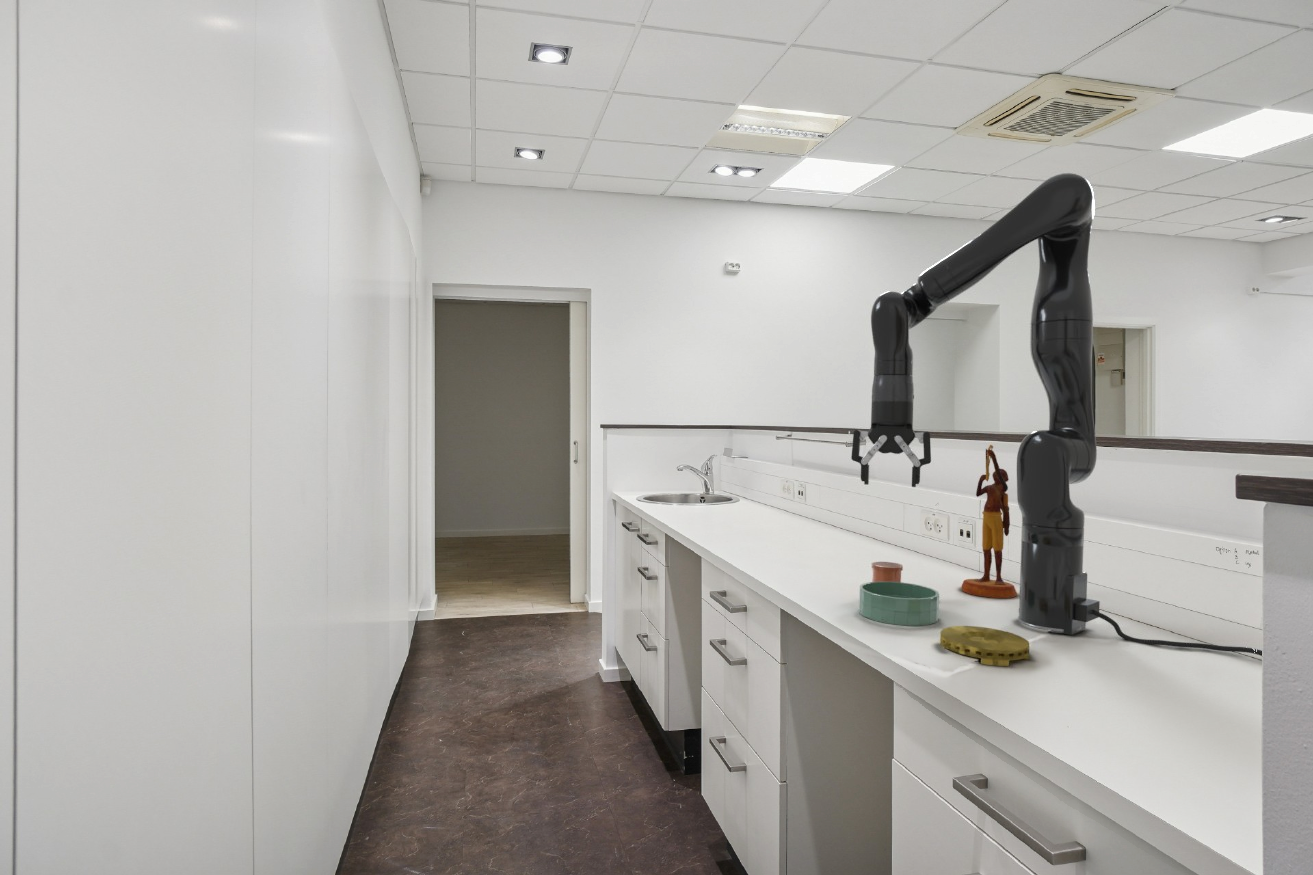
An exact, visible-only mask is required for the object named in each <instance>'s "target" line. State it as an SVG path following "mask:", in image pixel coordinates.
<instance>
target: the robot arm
mask: <svg viewBox="0 0 1313 875" xmlns="http://www.w3.org/2000/svg"><path fill="white" fill-rule="evenodd" d="M1095 202H1096V201H1095V195H1094V191H1093V187H1092V186H1091V184H1090V182H1089V181H1088V180H1087V179H1086V178H1085V177H1083V176H1082V175H1079V174H1077V173H1072V172H1071V173H1070V172H1065V173H1064V172H1063V173H1059V174H1055V175H1054V176H1050V177H1049V178H1047V179H1045V181H1043V182H1042V183H1041V184H1039V185H1038V186H1037V187H1036V188H1035V189H1033V191H1031V192H1030V193H1029V194H1027V195H1026V197H1024V198H1023V199H1022V200H1020V202H1019V203H1018V204H1016V206H1014V207H1013V208H1012V209H1010V210H1009V211H1008V212H1007V213H1006V214H1004V215H1003V216H1002V217H1001V218H1000V219H999V220H997V221H996V222H995V223H993V224H992V225H991V226H990V227H988V228H986V229H985V230H984V231H982V232H981V233H980V234H979V235H977V236H976V237H974V238H973V239H971V240H970V241H968V242H967V243H966V244H964V245H963V246H961V247H959V248H958V249H957V250H955V251H953V252H952V253H950V254H949V255H947V256H946V257H944V258H943V259H941V260H939V261H938V262H936V263H935V264H934V265H932V266H930V267H928V268H927V269H926V270H924V271H923V272H922V273H921V274H920V275H919V276H918V277H917V280H916V282H915V283H914V284H913V285H912V286H909V288H908V289H906V290H904V291H903V292H901V293H900V292H898V291H886V292H884V293H882V294H880V295H879V296H878V297H877V298H876V299H875V300H874V302H873V305H872V307H871V313H870V326H871V328H870V329H871V335H872V342H873V348H874V358H873V379H872V386H871V408H870V410H871V411H870V412H871V413H870V429H869V430H868V431H866V430H860V429H855V430H854V431H853V434H852V447H851V457H850V458H851V460H852V461H853V462H856V463H859V464H860V480H861V482H863V485H865V486H867V485H869V484H870V464H869V462H870V461H871V460H872V459H873V458H874V456H875V455H876V454H877V453H878V452H879V453H881V454H890V453H891V454H894V455H900V454H902V453H903V454H905V456H906V457H907V458H908V459H909V461H910V462H911V463H912V465H913V466H912V467H911V488H916V486H917V485H919V484H920V482H921V468H922V467H923V466H926V465H929V464H930V463H931V462H932V453H931V452H932V450H931V448H932V447H931V432H929V431H926V430H925V431H924V432H915V430H914V428H913V427H914V399H915V393H914V392H915V389H914V388H915V387H914V377H913V376H914V352H913V349H912V347H911V345H910V330H911V329H912V328H915V327H916V326H918V325H919V324H921V323H922V322H924V320H926V319H927V318H928V317H929V316H931V314H933V313H934V312H935V311H936V310H938V309H939V308H940V307H941V306H943V305H945V304H947V303H948V302H950V301H951V300H953V299H955V298H957V297H958V296H959V295H961V294H963V293H964V292H966V291H967V290H969V289H971V288H973V287H974V286H975V285H977V284H978V283H979V282H980V281H982V280H983V279H984V278H985V277H987V276H988V275H989V274H990V273H992V272H993V270H995V269H996V268H998V266H1000V264H1002V262H1004V261H1005V260H1007V259H1008V258H1009V257H1010V256H1012V255H1014V254H1015V253H1016V252H1018V251H1019V250H1020V249H1022V248H1024V247H1025V246H1027V245H1028V244H1030V243H1032V242H1034V241H1036V240H1037V247H1038V248H1037V249H1038V263H1039V265H1038V266H1039V268H1038V276H1037V281H1036V286H1035V290H1034V295H1033V299H1032V300H1033V301H1032V306H1031V312H1030V313H1031V314H1030V315H1031V316H1030V324H1029V325H1030V326H1029V330H1030V331H1029V332H1030V333H1029V350H1030V356H1031V357H1030V358H1031V360H1032V364H1033V366H1034V368H1035V371H1036V373H1037V376H1038V377H1039V380H1040V382H1041V384H1042V386H1043V389H1044V391H1045V395H1046V398H1047V403H1048V413H1049V414H1048V415H1049V416H1048V423H1049V424H1048V429H1039V430H1035V431H1032V432H1030V433H1028V434H1027V435H1026V436H1025V437H1024V438H1023V439H1022V440H1021V441H1020V442H1021V443H1020V444H1019V446H1018V450H1017V454H1016V500H1017V505H1018V507H1019V510H1020V513H1021V539H1020V540H1021V541H1020V542H1021V543H1020V568H1019V569H1020V570H1019V594H1018V596H1019V597H1018V598H1019V600H1018V604H1019V605H1018V616H1017V620H1018V622H1020V623H1021V624H1023V625H1025V626H1028V627H1031V628H1035V629H1040V630H1046V631H1047V633H1053V634H1064V635H1068V636H1069V635H1070V636H1072V635H1073V636H1074V634H1077V633H1080V632H1082V631H1084V630H1086V628H1087V623H1088V622H1091V621H1094V620H1096V619H1098V618H1100V619H1102V620H1104V621H1106V622H1107V623H1109V625H1111V626H1112V627H1113V628H1114V630H1115V632H1116V634H1117V635H1118V636H1119V637H1120V638H1122V639H1124V640H1125V641H1128V642H1133V643H1137V644H1138V643H1139V644H1145V645H1151V646H1152V645H1154V646H1155V645H1156V646H1166V647H1167V646H1168V647H1175V648H1188V649H1189V648H1191V649H1205V650H1211V651H1220V652H1235V653H1248V654H1253V655H1257V656H1261V657H1263V656H1262V651H1263V650H1261V649H1257V648H1254V649H1255V651H1254V650H1253V649H1252V647H1247V648H1246V646H1230V645H1229V646H1228V645H1217V644H1210V643H1209V644H1208V643H1202V642H1201V643H1200V642H1186V641H1185V642H1183V641H1172V640H1171V641H1170V640H1164V639H1163V640H1162V639H1145V638H1144V639H1143V638H1136V637H1133V636H1131V635H1128V634H1126V633H1124V632H1123V631H1122V629H1121V627H1120V626H1119V624H1118V622H1116V621H1115V620H1114V619H1113V618H1111V617H1110V616H1108V615H1106V614H1104V613H1102V612H1100V602H1101V601H1100V600H1095V599H1092V598H1091V599H1090V598H1087V597H1088V572H1086V571H1084V545H1085V544H1084V543H1085V542H1084V541H1085V512H1084V510H1083V509H1081V508H1080V507H1078V506H1076V505H1075V504H1074V503H1073V501H1072V499H1071V495H1070V494H1071V492H1070V485H1075V484H1080V483H1082V482H1084V481H1086V480H1087V479H1088V478H1089V477H1090V476H1091V475H1092V473H1093V472H1094V471H1095V470H1094V469H1095V467H1096V465H1097V464H1096V463H1097V458H1098V457H1097V454H1098V453H1097V452H1098V450H1097V439H1096V429H1095V421H1094V413H1093V412H1094V410H1093V346H1094V345H1093V340H1094V336H1093V335H1094V313H1093V311H1094V310H1093V298H1092V289H1091V288H1092V287H1091V283H1090V275H1089V253H1090V252H1089V250H1090V242H1091V233H1092V228H1093V221H1094V216H1095V212H1096V211H1095V209H1096V203H1095ZM867 437H868V439H869V441H870V442H871V443H872V445H873V446H871V448H870V449H869V450H868V452H867V453H866V454H865V455H864V456H861V455H860V450H861V443H862V442H864V441H865V439H866V438H867ZM915 439H917V440H918V442H919V443H920V444H923V457H922V458H918V457H917V455H916V454H915V452H914V451H913V450H912V448H911V447H910V445H911V444H912V442H913V441H914V440H915ZM1256 649H1257V652H1256ZM1254 652H1255V653H1254Z"/></svg>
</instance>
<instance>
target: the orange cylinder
mask: <svg viewBox="0 0 1313 875" xmlns="http://www.w3.org/2000/svg"><path fill="white" fill-rule="evenodd" d="M870 566H871V569H872V581H871V582H879V581H887V582H902V571H903V570H904V566H903V564H901V563H898V562H892V561H874V562H871V565H870Z"/></svg>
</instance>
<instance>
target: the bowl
mask: <svg viewBox="0 0 1313 875" xmlns="http://www.w3.org/2000/svg"><path fill="white" fill-rule="evenodd" d="M858 597H859V598H858V613H859V614H860V615H861V616H862V617H864V618H867V619H869V620H871V621H874V622H878V623H882V624H889V625H896V626H897V625H898V626H908V627H911V626H912V627H915V626H916V627H917V626H928V625H929V626H930V625H932V624H936V623H938V621H939V618H940V593H939V591H937V590H936V589H934V588H931V587H928V586H925V585H920V584H915V583H909V582H902V581H901V582H887V581H879V582H872V581H869V582H864V583H862V584H860V585H859V596H858Z"/></svg>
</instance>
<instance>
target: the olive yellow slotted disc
mask: <svg viewBox="0 0 1313 875" xmlns="http://www.w3.org/2000/svg"><path fill="white" fill-rule="evenodd" d="M939 638H940V643H939V644H940V646H941V647H942V648H943V649H945V650H949V651H952V652H953V653H957V654H960V655H963V656H966V657H967V656H968V657H972V658H976V659H977V658H978V659H980V665H987V666H998V667H999V666H1000V667H1009V666H1010V661H1019V660H1022V659H1023V660H1027V661H1029V659H1030V641H1028V640H1027V639H1026V638H1024V637H1022V636H1020V635H1018V634H1015V633H1012V632H1009V631H1006V630H1001V629H996V628H990V627H984V626H974V625H955V626H949V627H945V628H943V629H941V630H940V637H939Z"/></svg>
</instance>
